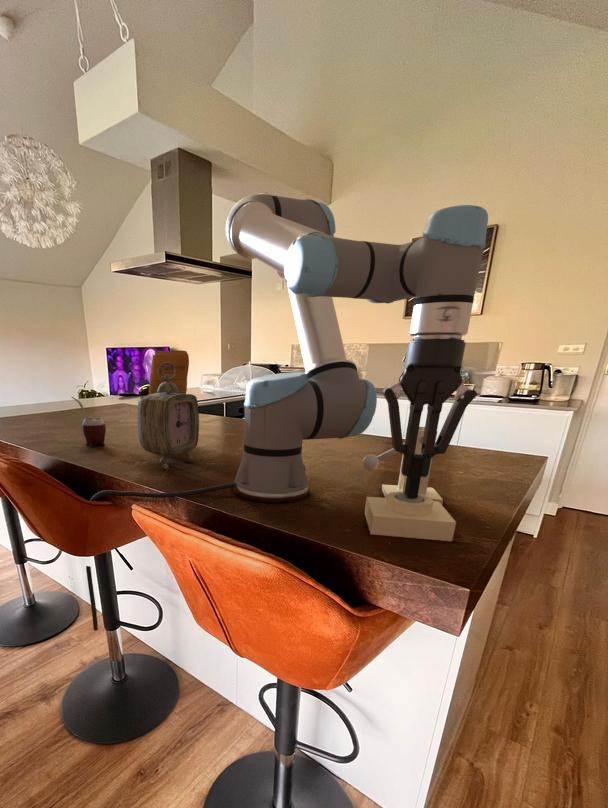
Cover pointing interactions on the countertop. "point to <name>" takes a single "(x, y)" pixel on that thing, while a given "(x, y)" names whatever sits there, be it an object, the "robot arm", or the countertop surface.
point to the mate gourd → (93, 429)
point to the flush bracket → (424, 480)
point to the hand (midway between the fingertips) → (410, 495)
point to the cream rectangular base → (409, 518)
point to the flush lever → (377, 459)
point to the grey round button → (404, 498)
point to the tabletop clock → (168, 420)
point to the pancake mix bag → (169, 370)
